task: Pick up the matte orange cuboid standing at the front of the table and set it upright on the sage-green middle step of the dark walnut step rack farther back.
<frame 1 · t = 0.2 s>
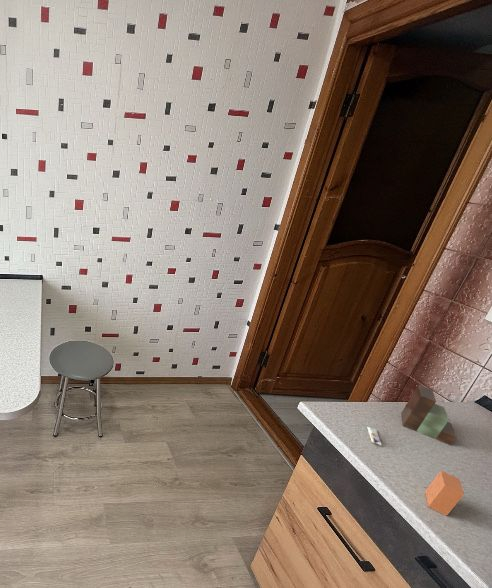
granola bar: (372, 437, 91), on the kitchen counter
matte orange cuboid: (435, 503, 74), on the kitchen counter
step rack: (424, 428, 96), on the kitchen counter
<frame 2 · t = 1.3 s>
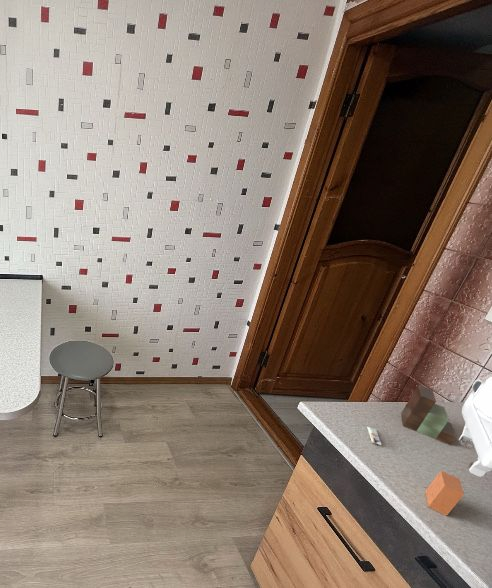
hand: (468, 457, 69), 14 cm above the kitchen counter, tool pointing down, fingers open, 8 cm apart
nothing on the kitchen counter moved.
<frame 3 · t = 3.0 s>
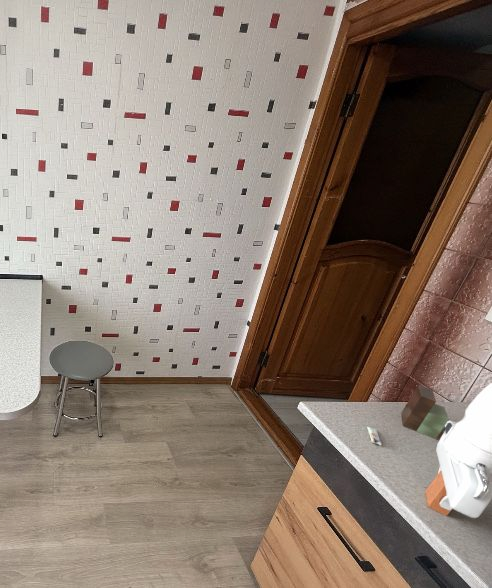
hand: (441, 495, 73), 3 cm above the kitchen counter, tool pointing down, fingers closed on matte orange cuboid, 5 cm apart
matte orange cuboid: (435, 503, 74), on the kitchen counter, touching gripper
everything else where it was.
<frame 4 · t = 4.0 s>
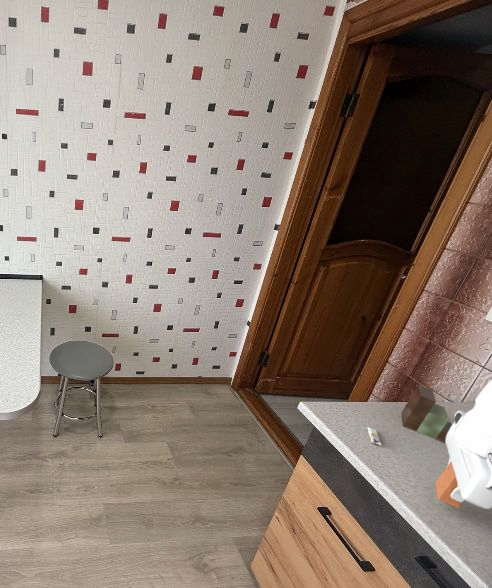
hand: (452, 487, 72), 6 cm above the kitchen counter, tool pointing down, fingers closed on matte orange cuboid, 5 cm apart
matte orange cuboid: (445, 495, 73), point 3 cm above the kitchen counter, touching gripper
everything else where it was.
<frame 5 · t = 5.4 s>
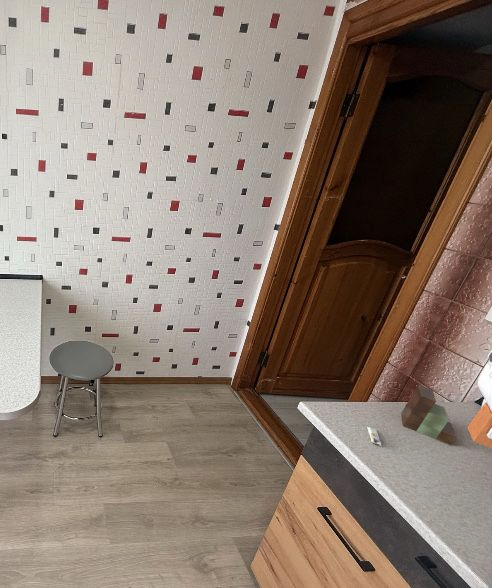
hand: (487, 428, 68), 21 cm above the kitchen counter, tool pointing down, fingers closed on matte orange cuboid, 5 cm apart
matte orange cuboid: (480, 437, 69), point 18 cm above the kitchen counter, touching gripper
everything else where it was.
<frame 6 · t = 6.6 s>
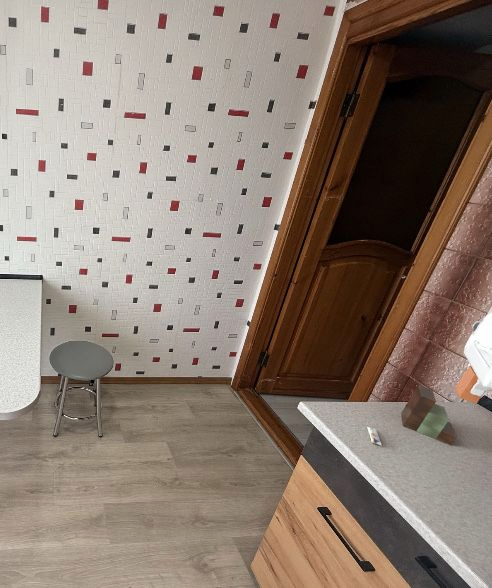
hand: (471, 387, 81), 21 cm above the kitchen counter, tool pointing down, fingers closed on matte orange cuboid, 5 cm apart
matte orange cuboid: (465, 395, 82), point 18 cm above the kitchen counter, touching gripper
everything else where it was.
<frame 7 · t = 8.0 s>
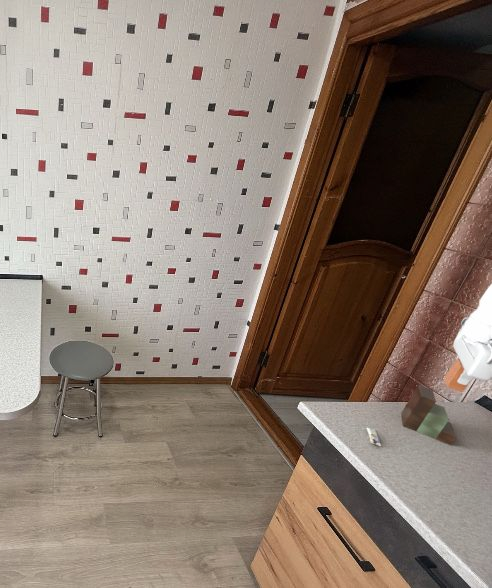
hand: (458, 377, 89), 18 cm above the kitchen counter, tool pointing down, fingers closed on matte orange cuboid, 5 cm apart
matte orange cuboid: (453, 385, 90), point 16 cm above the kitchen counter, touching gripper
everything else where it was.
when the fingers open (9 cm above the kitchen counter, at t = 10.5 s): matte orange cuboid stays where it is, resting on step rack.
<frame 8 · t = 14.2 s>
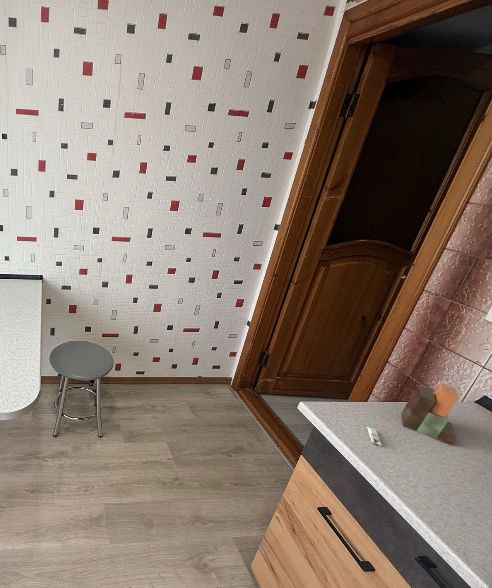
matte orange cuboid: (436, 409, 93), point 7 cm above the kitchen counter, touching step rack
everything else where it was.
at the end: matte orange cuboid 0.1 cm off-centre on the step rack, point 7.0 cm above the step rack's base; matte orange cuboid tilted 0°; the gripper is holding nothing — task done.
